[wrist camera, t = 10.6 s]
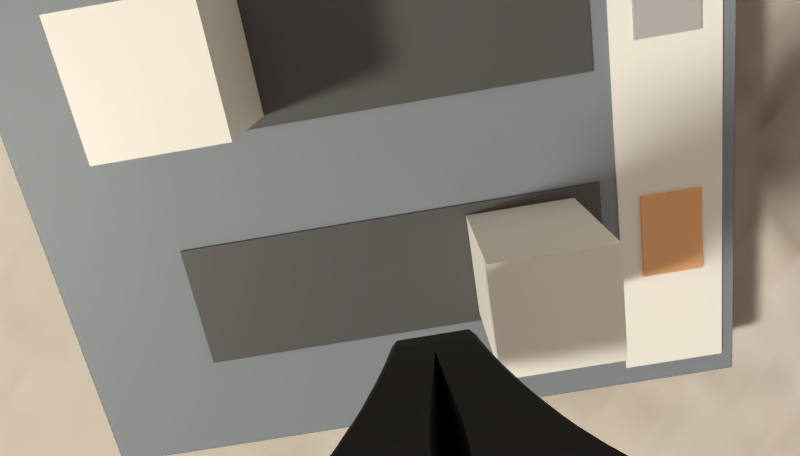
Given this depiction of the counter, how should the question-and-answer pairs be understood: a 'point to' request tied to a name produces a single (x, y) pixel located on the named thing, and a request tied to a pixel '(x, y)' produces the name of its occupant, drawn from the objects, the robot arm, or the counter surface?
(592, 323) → the beige small block
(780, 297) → the counter surface
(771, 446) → the counter surface
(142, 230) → the switch board
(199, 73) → the tab
